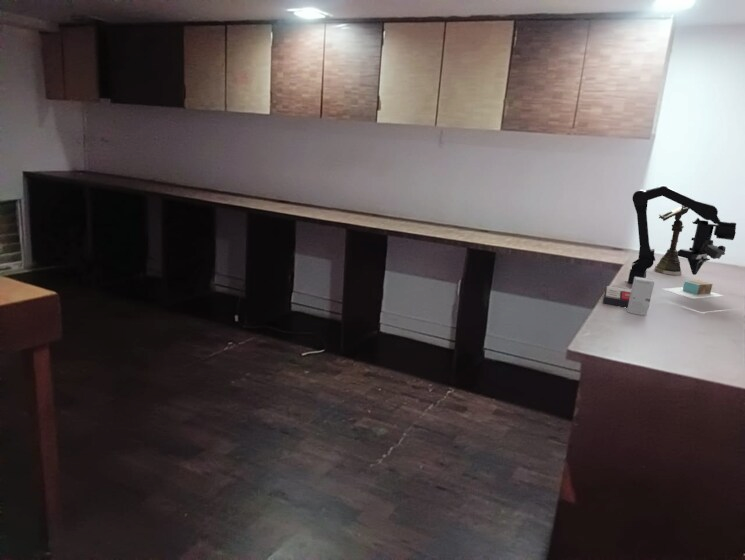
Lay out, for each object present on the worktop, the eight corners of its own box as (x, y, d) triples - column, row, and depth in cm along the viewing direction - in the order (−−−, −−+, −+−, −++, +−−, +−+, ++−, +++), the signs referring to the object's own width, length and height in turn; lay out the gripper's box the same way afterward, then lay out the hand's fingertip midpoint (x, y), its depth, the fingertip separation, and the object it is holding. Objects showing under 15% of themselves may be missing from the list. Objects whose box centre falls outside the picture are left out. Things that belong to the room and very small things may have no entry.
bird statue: (644, 271, 266) (659, 196, 257) (642, 266, 278) (657, 194, 269) (683, 277, 261) (700, 201, 252) (679, 271, 273) (696, 198, 264)
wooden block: (698, 285, 227) (712, 283, 231) (684, 281, 232) (698, 280, 236) (696, 294, 228) (710, 293, 232) (682, 290, 233) (696, 289, 237)
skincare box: (628, 313, 196) (635, 279, 192) (626, 309, 200) (633, 276, 197) (647, 316, 194) (654, 281, 191) (645, 312, 198) (652, 278, 195)
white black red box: (604, 295, 204) (606, 284, 217) (602, 306, 205) (604, 294, 218) (637, 300, 200) (637, 289, 213) (635, 312, 201) (635, 300, 214)
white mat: (692, 299, 221) (692, 298, 221) (660, 289, 233) (661, 288, 233) (724, 296, 230) (724, 295, 230) (692, 287, 242) (692, 286, 242)
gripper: (707, 240, 213) (698, 280, 217) (737, 240, 222) (727, 278, 226) (680, 235, 223) (672, 273, 227) (710, 234, 231) (701, 271, 235)
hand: (694, 274), depth 229 cm, fingers closed
